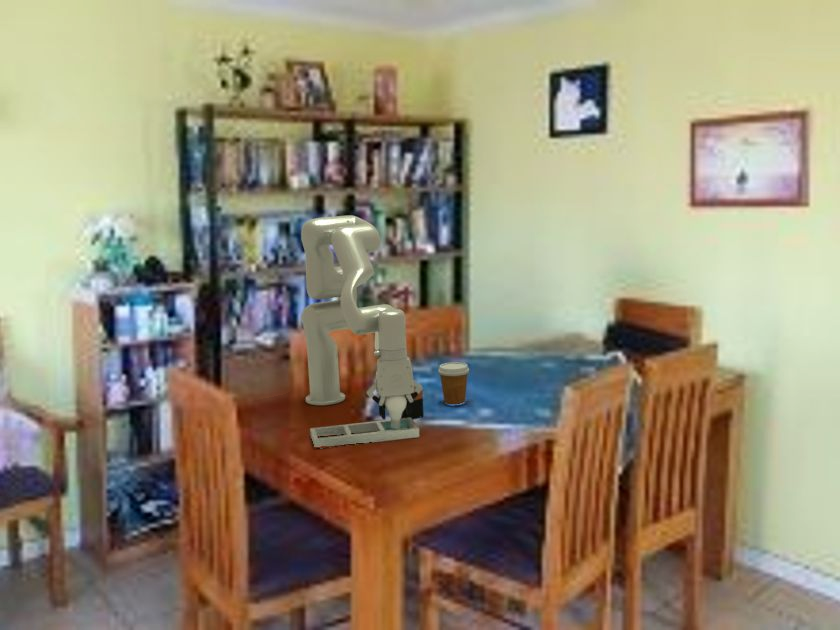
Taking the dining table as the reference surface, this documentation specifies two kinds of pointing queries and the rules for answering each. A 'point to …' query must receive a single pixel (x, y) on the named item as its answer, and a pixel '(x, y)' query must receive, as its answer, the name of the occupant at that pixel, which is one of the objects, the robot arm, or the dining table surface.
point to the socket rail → (382, 433)
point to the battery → (415, 406)
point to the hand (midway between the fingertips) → (395, 416)
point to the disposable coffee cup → (454, 381)
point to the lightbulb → (395, 409)
